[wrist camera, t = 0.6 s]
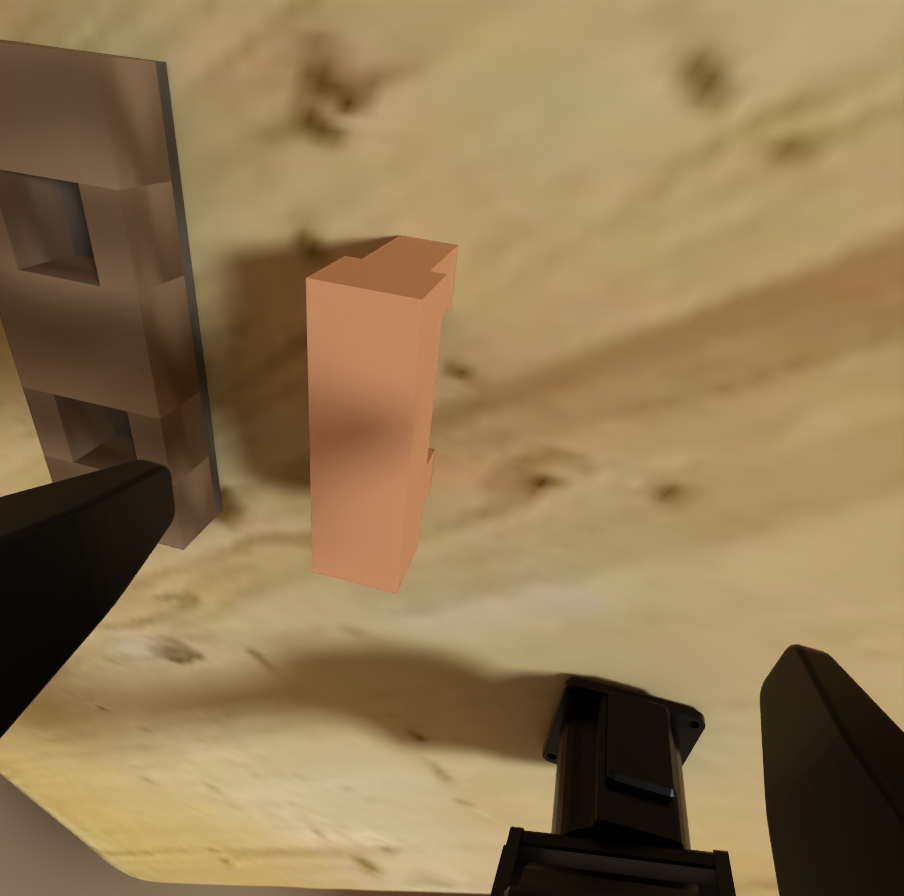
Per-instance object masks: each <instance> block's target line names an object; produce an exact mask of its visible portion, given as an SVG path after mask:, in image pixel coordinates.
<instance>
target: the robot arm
mask: <svg viewBox="0 0 904 896" xmlns="http://www.w3.org/2000/svg"><path fill="white" fill-rule="evenodd" d="M175 510H176V507H175V499H174V491H173V483H172V475H171V472H170V470H169V468H168V467H167V466H165V465H163V464H159V463H156V462H152V461H149V460H144V459H139V460H135V461H131V462H127V463H124V464H120V465H116V466H113V467H109V468H105V469H102V470H98V471H94V472H91V473H87V474H83V475H80V476H76V477H72V478H69V479H65V480H61V481H58V482H54V483H50V484H47V485H43V486H39V487H36V488H32V489H28V490H25V491H21V492H17V493H14V494H10V495H6V496H3V497H0V738H1V737H2V736H3V735H4V734H5V732H6V731H7V730H8V729H9V728H10V727H11V725H12V724H13V723H14V722H15V721H16V720H17V719H18V717H19V716H20V715H21V714H22V713H23V712H24V710H25V709H26V708H27V707H28V706H29V705H30V703H31V702H32V701H33V700H34V699H35V698H36V696H37V695H38V694H39V693H40V692H41V691H42V689H43V688H44V687H45V686H46V685H47V684H48V682H49V681H50V680H51V679H52V678H53V677H54V675H55V674H56V673H57V672H58V671H59V670H60V668H61V667H62V666H63V665H64V664H65V663H66V661H67V660H68V659H69V658H70V657H71V656H72V654H73V653H74V652H75V651H76V650H77V649H78V647H79V646H80V645H81V644H82V643H83V642H84V640H85V639H86V638H87V637H88V636H89V635H90V634H91V632H92V631H93V630H94V629H95V628H96V627H97V625H98V624H99V623H100V622H101V621H102V620H103V618H104V617H105V616H106V615H107V613H108V612H109V611H110V610H111V608H112V607H113V606H114V605H115V603H116V602H117V601H118V599H119V598H120V597H121V595H122V594H123V593H124V591H125V590H126V588H127V587H128V585H129V584H130V583H131V581H132V580H133V578H134V577H135V575H136V574H137V573H138V571H139V570H140V568H141V567H142V565H143V564H144V563H145V561H146V560H147V558H148V557H149V555H150V554H151V553H152V551H153V550H154V548H155V547H156V545H157V544H158V543H159V541H160V540H161V538H162V537H163V535H164V534H165V533H166V531H167V530H168V528H169V527H170V525H171V524H172V521H173V519H174V516H175ZM760 713H761V731H762V749H763V767H764V785H765V801H766V813H767V821H768V828H769V835H770V842H771V848H772V854H773V860H774V866H775V872H776V878H777V884H778V890H779V896H904V732H903V731H902V730H901V729H900V728H899V727H898V726H897V725H896V724H895V723H894V722H893V721H892V720H891V718H890V717H889V716H888V715H887V714H886V713H885V712H884V711H883V710H882V709H881V708H880V707H879V706H878V705H877V704H876V703H875V702H874V701H873V700H872V699H871V698H870V697H869V695H868V694H867V693H866V692H865V691H864V690H863V689H862V688H861V687H860V686H859V685H858V684H857V683H856V682H855V681H854V680H853V679H852V678H851V677H850V676H849V675H848V674H847V672H846V671H845V670H844V669H843V668H842V667H841V666H840V665H839V664H838V663H837V662H836V661H835V660H834V659H833V658H832V657H831V656H830V655H829V654H827V653H825V652H823V651H820V650H816V649H813V648H809V647H806V646H802V645H798V644H796V645H791V646H789V647H788V648H787V649H786V650H785V651H784V653H783V654H782V656H781V657H780V659H779V660H778V662H777V663H776V664H775V666H774V667H773V669H772V670H771V672H770V673H769V675H768V676H767V678H766V679H765V681H764V682H763V685H762V687H761V692H760ZM704 728H705V720H704V716H703V714H701V713H700V712H698V711H695V710H691V709H688V708H684V707H680V706H677V705H673V704H669V703H666V702H662V701H658V700H655V699H651V698H647V697H644V696H640V695H636V694H633V693H629V692H625V691H622V690H618V689H614V688H611V687H607V686H603V685H600V684H596V683H592V682H589V681H585V680H581V679H577V678H570V679H568V680H567V681H566V682H565V685H564V688H563V691H562V694H561V697H560V699H559V702H558V705H557V708H556V711H555V714H554V717H553V720H552V723H551V726H550V728H549V731H548V734H547V737H546V740H545V743H544V746H543V753H542V756H543V758H544V759H545V760H547V761H549V762H552V763H556V764H557V771H556V783H555V795H554V807H553V819H552V831H551V833H542V832H533V831H525V830H524V828H520V827H511V828H510V832H509V835H508V839H507V843H506V845H504V846H503V850H502V854H501V857H500V861H499V865H498V869H497V873H496V876H495V880H494V884H493V888H492V892H491V896H736V894H735V888H734V882H733V877H732V871H731V866H730V860H729V855H728V851H720V850H713V852H705V851H697V850H691V847H690V838H689V828H688V819H687V809H686V800H685V791H684V781H683V772H682V766H683V764H684V762H685V761H686V759H687V757H688V755H689V754H690V752H691V750H692V749H693V747H694V745H695V744H696V742H697V740H698V739H699V737H700V735H701V733H702V732H703V730H704Z"/></svg>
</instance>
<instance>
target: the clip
mask: <svg viewBox="0 0 904 896" xmlns="http://www.w3.org/2000/svg"><path fill="white" fill-rule="evenodd" d="M457 249H458V245H452V244H446V243H440V242H434V241H429V240H423V239H417V238H411V237H406V236H398V237H397V238H395V239H393V240H392V241H390V242H388V243H387V244H385V245H383V246H382V247H380V248H379V249H377V250H375V251H374V252H372V253H370V254H369V255H367V256H365V257H364V258H362V259H360V258H354V257H349V256H344V257H342V258H340V259H338V260H337V261H335V262H333V263H331V264H330V265H328V266H326V267H324V268H322V269H321V270H319V271H317V272H315V273H314V274H312V275H310V276H308V277H306V307H307V352H308V396H309V440H310V484H311V529H312V572H314V573H318V574H322V575H326V576H330V577H333V578H337V579H341V580H345V581H349V582H352V583H356V584H360V585H364V586H368V587H371V588H375V589H379V590H383V591H386V592H390V593H394V594H397V593H398V590H399V588H400V586H401V584H402V581H403V579H404V577H405V574H406V572H407V570H408V568H409V565H410V563H411V561H412V559H413V556H414V554H415V552H416V549H417V547H418V541H419V532H420V523H421V513H422V506H423V504H424V502H425V500H426V497H427V495H428V493H429V491H430V486H431V477H432V468H433V459H434V451H435V450H432V449H428V448H429V439H430V430H431V420H432V411H433V402H434V392H435V383H436V374H437V364H438V355H439V346H440V336H441V327H442V318H443V314H444V313H445V312H446V311H447V309H448V308H449V307H450V306H451V302H452V293H453V284H454V275H455V267H456V258H457Z"/></svg>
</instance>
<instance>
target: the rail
mask: <svg viewBox="0 0 904 896" xmlns="http://www.w3.org/2000/svg"><path fill="white" fill-rule="evenodd" d="M0 317H1V320H2V323H3V326H4V330H5V333H6V336H7V339H8V342H9V345H10V349H11V352H12V355H13V358H14V361H15V364H16V368H17V371H18V374H19V377H20V380H21V384H22V387H23V390H24V393H25V396H26V399H27V403H28V406H29V409H30V412H31V415H32V418H33V422H34V425H35V428H36V431H37V434H38V437H39V441H40V444H41V447H42V450H43V453H44V456H45V460H46V463H47V466H48V469H49V472H50V475H51V479H52V482H53V483H54V482H58V481H61V480H65V479H69V478H72V477H76V476H80V475H83V474H87V473H91V472H94V471H98V470H102V469H105V468H109V467H113V466H116V465H120V464H124V463H127V462H131V461H135V460H139V459H144V460H149V461H152V462H156V463H159V464H163V465H165V466H167V467H168V468H169V470H170V472H171V475H172V483H173V491H174V499H175V507H176V510H175V516H174V519H173V521H172V524H171V525H170V527H169V528H168V530H167V531H166V533H165V534H164V535H163V537H162V538H161V540H160V541H159V544H163V545H167V546H171V547H174V548H178V549H182V550H184V549H185V548H186V547H187V546H188V545H189V544H190V543H191V542H192V541H193V540H194V539H195V538H196V537H197V536H198V535H199V534H200V533H201V531H202V530H203V529H204V528H205V527H206V526H207V525H208V524H209V523H210V522H211V521H212V520H213V519H214V518H215V517H216V516H217V515H218V514H219V513H220V512H221V511H222V503H221V495H220V487H219V479H218V471H217V463H216V455H215V447H214V439H213V431H212V423H211V416H210V408H209V400H208V392H207V384H206V376H205V368H204V360H203V352H202V344H201V337H200V329H199V321H198V313H197V305H196V297H195V289H194V281H193V273H192V265H191V258H190V250H189V242H188V234H187V226H186V218H185V210H184V202H183V194H182V186H181V178H180V171H179V163H178V155H177V147H176V139H175V131H174V123H173V115H172V107H171V99H170V92H169V84H168V76H167V68H166V62H160V61H153V60H145V59H138V58H131V57H123V56H116V55H109V54H101V53H94V52H87V51H80V50H72V49H65V48H58V47H50V46H43V45H36V44H29V43H21V42H14V41H7V40H0Z"/></svg>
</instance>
